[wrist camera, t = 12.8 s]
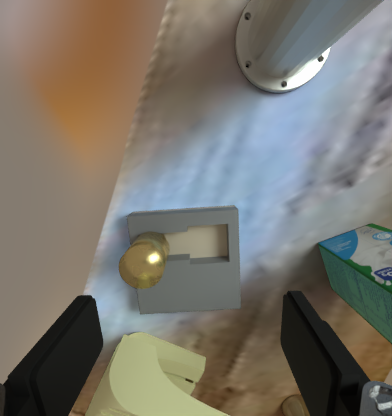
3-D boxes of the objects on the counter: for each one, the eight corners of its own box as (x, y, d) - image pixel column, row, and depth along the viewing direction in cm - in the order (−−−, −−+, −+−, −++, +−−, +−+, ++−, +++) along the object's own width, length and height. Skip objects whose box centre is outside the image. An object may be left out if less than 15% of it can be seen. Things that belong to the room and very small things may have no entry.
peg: (137, 226, 33) (115, 249, 24) (170, 224, 33) (160, 246, 24) (141, 257, 34) (122, 290, 25) (173, 255, 34) (165, 287, 25)
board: (133, 211, 34) (126, 216, 30) (234, 205, 33) (238, 209, 30) (144, 301, 37) (140, 314, 34) (237, 296, 37) (240, 308, 33)
